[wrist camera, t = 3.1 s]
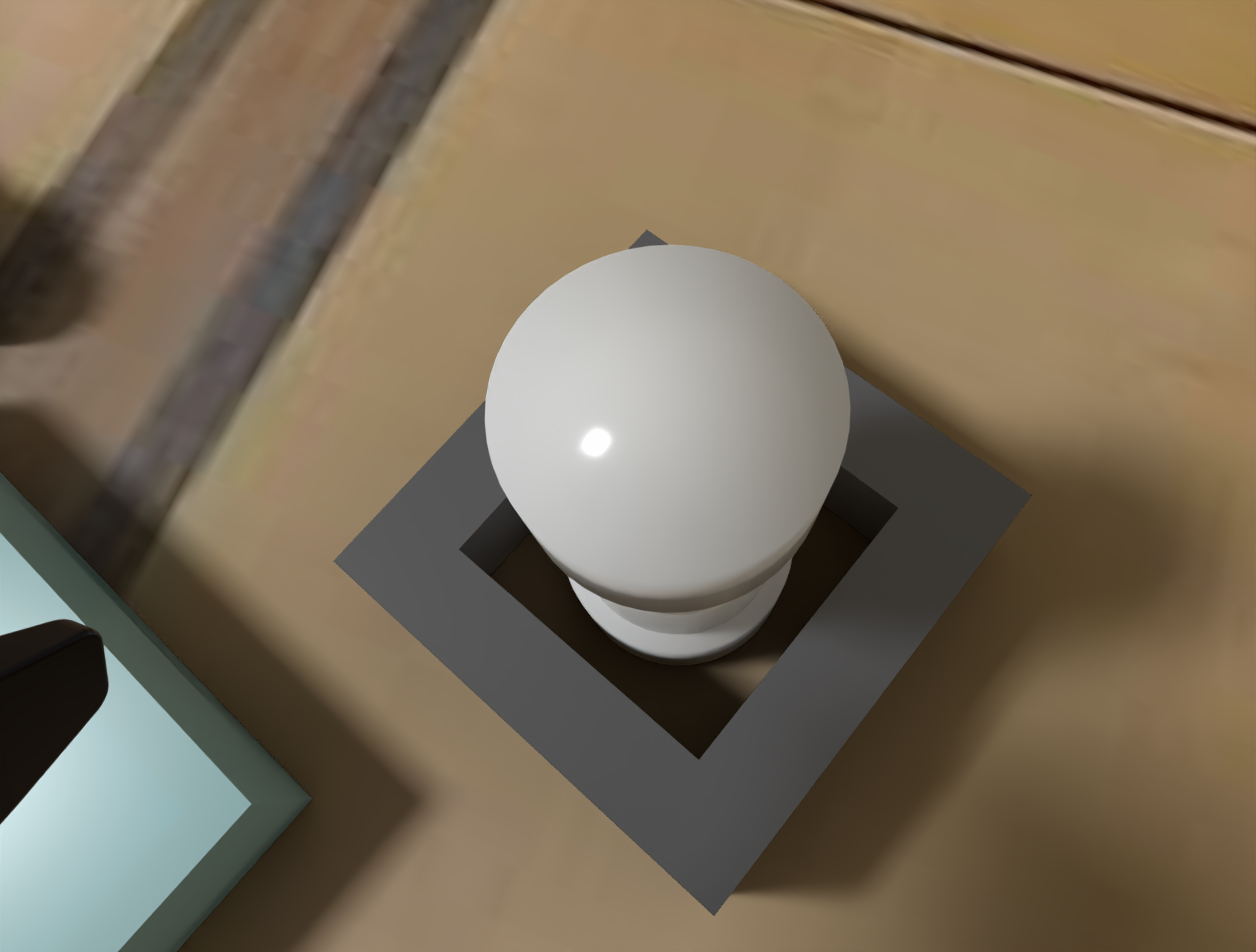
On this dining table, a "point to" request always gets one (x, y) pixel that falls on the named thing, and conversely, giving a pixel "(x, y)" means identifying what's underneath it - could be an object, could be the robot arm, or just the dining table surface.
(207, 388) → the dining table surface
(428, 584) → the socket block
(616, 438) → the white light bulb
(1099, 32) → the dining table surface
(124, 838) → the tray
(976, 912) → the dining table surface
